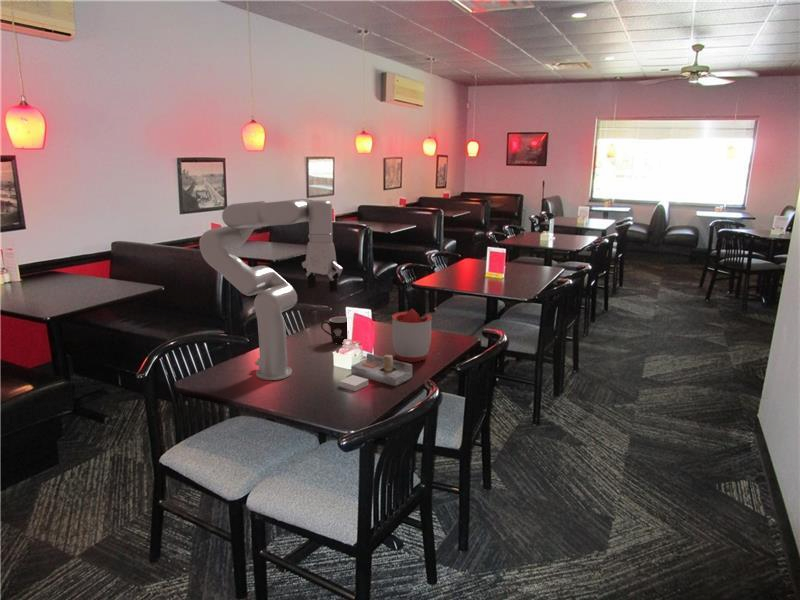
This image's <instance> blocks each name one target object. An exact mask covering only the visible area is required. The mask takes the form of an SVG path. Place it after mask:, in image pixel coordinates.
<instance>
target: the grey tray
mask: <svg viewBox="0 0 800 600" xmlns="http://www.w3.org/2000/svg"><path fill="white" fill-rule="evenodd" d="M350 372H351V373H350V374H351V375H355V376H358V377H362V378H365V379H368V380H373V381H376V382H379V383H383V384H385V385H390V386H393V387H397V386H400V385H402V384H404V383H405V382H407V381H409V380H411V379H412V378H413V364H412V363H409V362H405V361H401V360H398V359H397V360H396V359H393V372H391V373H387V372H384V356H380V355H377V354H372V353H369V352H368V353H366V359H364V360H362V361H359V362H357V363H355V364H353V365H351V366H350ZM410 378H411V379H410Z"/></svg>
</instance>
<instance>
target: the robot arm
mask: <svg viewBox="0 0 800 600" xmlns="http://www.w3.org/2000/svg"><path fill="white" fill-rule="evenodd" d="M221 219H222V221H223V223H224V224H225V225H226V226H221V227H216V228H215V227H214V228H212V229H208V230H207V231H205V232H203V233H202V234H201V236H200V239H199V249H200V250H199V251H200V253H201V257H202V258H203V259H204V261H205V262H206V263H207V264H208V265H209V266H210V267H211V268H213V269H214V270H215V271H216V272H218V273H219V274H220V275H221V276H223V277H224V279H225V280H226V281H228V282H229V283H230V284H231V285H233V287H235V289H237V290H238V291H239V292H240V293H241V294H243V295H245V296H247V297H250V296H255V295H256V296H255V299H254V301H253V307H254V311H255V316H256V320H257V329H258V330H257V331H258V346H259V358H258V359H257V361H255V362H254V365H255V366H258V370H256V372H255V374H256V378H258V379H260V380H264V381H280V380H282V379H287V378H288V377H290V376H292V374H293V369H292V368H291V367H290V366H288V352H287V351H288V349H287V329H286V322H285V320H284V318H283V315H282V313H283V312H285V311H288V310H290V309H291V308H294V306H295V305H296V304H297V302H298V294H297V292H296V290H295V288H294V287H293V286H292V285H291V283H289V282H287V281H286V279H284V278H283V277H282V276H281V275H280V274H278V272H276V271H275V270H274V269H273V268H271V267H269V266H267V265H257V266H249V265H248V264H246V263H245V262H244V261H243V260H242V259H241V258H240V257H238V256H237V255H235V254H233V253H231V252H229V251H231V250H235V249H239V248H241V247H242V246H243V245H244V244H245V243H246V242H247V241H248V238H250V236H251V234H252V233H253V232H254V231H255V230H256V228H262V227H270V226H285V225H287V226H288V225H294V224H295V225H296V224H298V223H305V222H308V232H309V233H308V234H307V235H308V236H307V237H308V239H309V242H307V245H306V252H305V253H306V254H305V260H304V261H302V262H301V266H302V268H303V272H304V273H305V276H306V279H307V288H308V289H310V290H311V289H313V288H316V287H317V284H316V281H317V280H316V275H315V274H318V275H324V276H325V275H327V277H328V278H329V279H330V280H329V281H328V291H329V293H334V292H337V291H338V280H339V279H340V276H341V275H342V273H343V272H342V271H343V267H342V266H341V265H340V264H338V262H337V255H336V248H335V243H334V240H333V237H334V236H333V205H332V203H331V202H330V201H329V200H325V199H324V200H322V199H321V200H319V199H318V200H312V199H308V198H299V199H290V200H280V201H269V202H266V201H265V200H260V201H252V202H251V201H249V202H240V203H232V204H230V205H227V206H226V207H225V208H224V209H223V210H222V214H221Z"/></svg>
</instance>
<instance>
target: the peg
mask: <svg viewBox="0 0 800 600" xmlns="http://www.w3.org/2000/svg"><path fill="white" fill-rule="evenodd" d="M383 357H384V372H387V373H391V372H393V360H394V358H393V355H392V354H386V355H383Z"/></svg>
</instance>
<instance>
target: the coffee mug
mask: <svg viewBox="0 0 800 600" xmlns="http://www.w3.org/2000/svg"><path fill="white" fill-rule="evenodd" d="M347 318H348V317H346V316H335V317H331V318H329V320H328V321H329V322H328V321H323V322H322V323H321V324H320V328H321V330H323V332H325V333H326V334H327V335H329V336H330V337H331V341H332V342H333V343H337V344H336V345H339V344H340V345H343V344H342V342H343V340H344V339H347ZM324 324H327V325H328V326H329V329H330V332H328V331H327V330H325V328H324V327H323V325H324ZM332 342H331V343H332ZM333 343H332V344H333Z"/></svg>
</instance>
